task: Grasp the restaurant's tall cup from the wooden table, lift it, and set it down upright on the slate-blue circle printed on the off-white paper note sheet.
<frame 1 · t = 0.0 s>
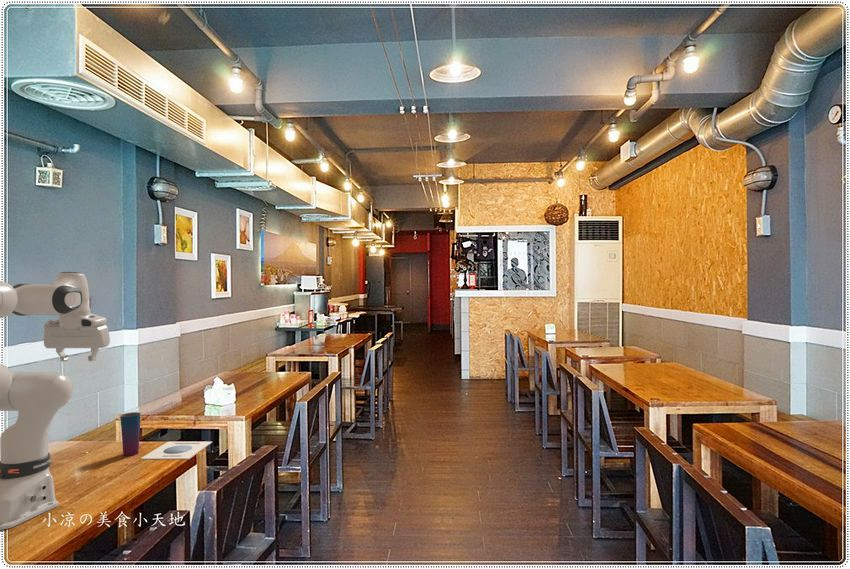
hand: (78, 360, 173), 39 cm above the table, tool pointing down, fingers open, 8 cm apart
paper sheet: (178, 450, 200), on the table
cup: (130, 454, 196), on the table
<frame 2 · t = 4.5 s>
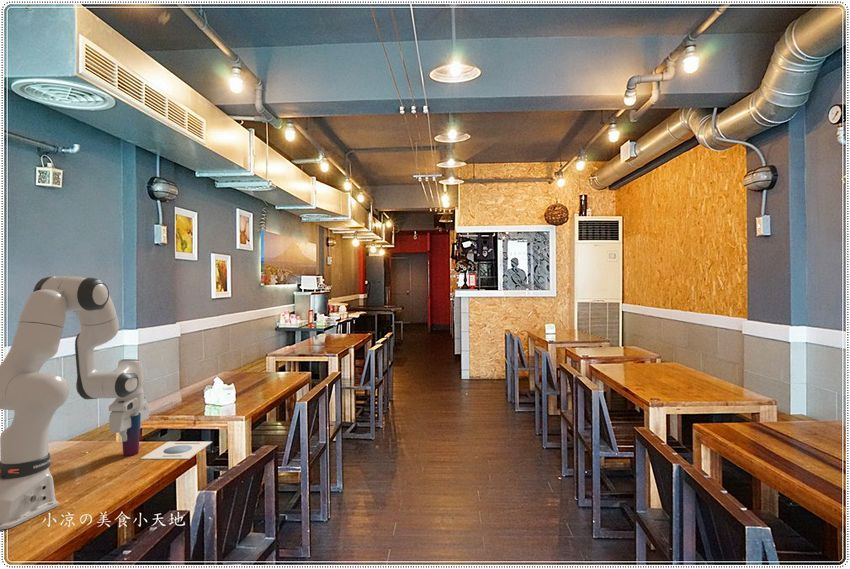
hand: (130, 437, 196), 6 cm above the table, tool pointing down, fingers closed on cup, 6 cm apart
cup: (130, 454, 196), on the table, touching gripper
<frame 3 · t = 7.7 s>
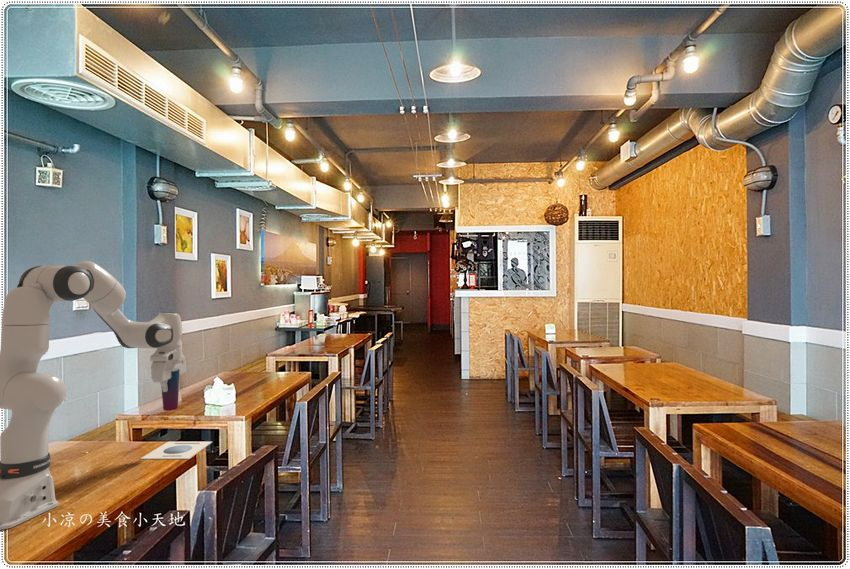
hand: (170, 389, 199), 24 cm above the table, tool pointing down, fingers closed on cup, 6 cm apart
cup: (170, 409, 199), point 16 cm above the table, touching gripper
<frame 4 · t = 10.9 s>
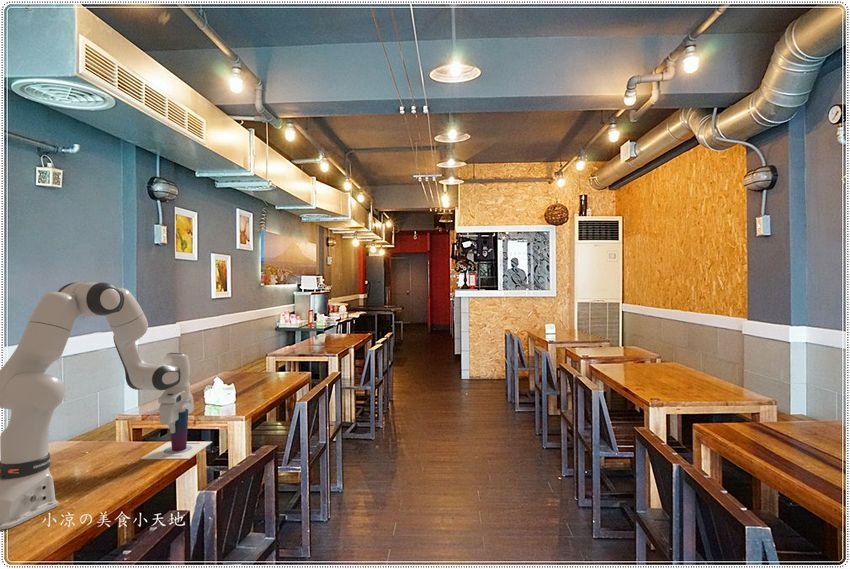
hand: (178, 429, 200), 8 cm above the table, tool pointing down, fingers closed on cup, 6 cm apart
cup: (179, 449, 200), resting on paper sheet, touching gripper
when the fingers open (8 cm above the table, at t = 11.9 s): cup stays where it is, resting on paper sheet.
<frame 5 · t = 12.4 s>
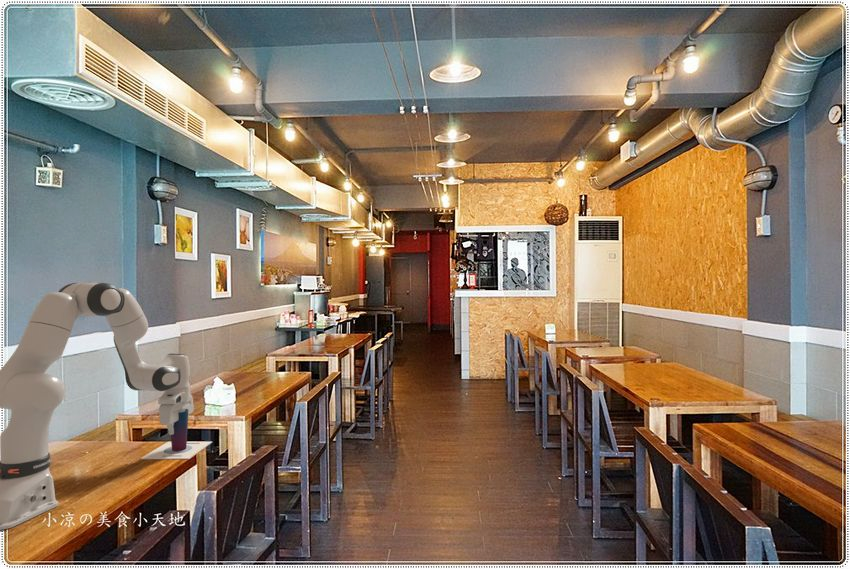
hand: (177, 430, 200), 8 cm above the table, tool pointing down, fingers open, 8 cm apart
cup: (179, 449, 200), resting on paper sheet
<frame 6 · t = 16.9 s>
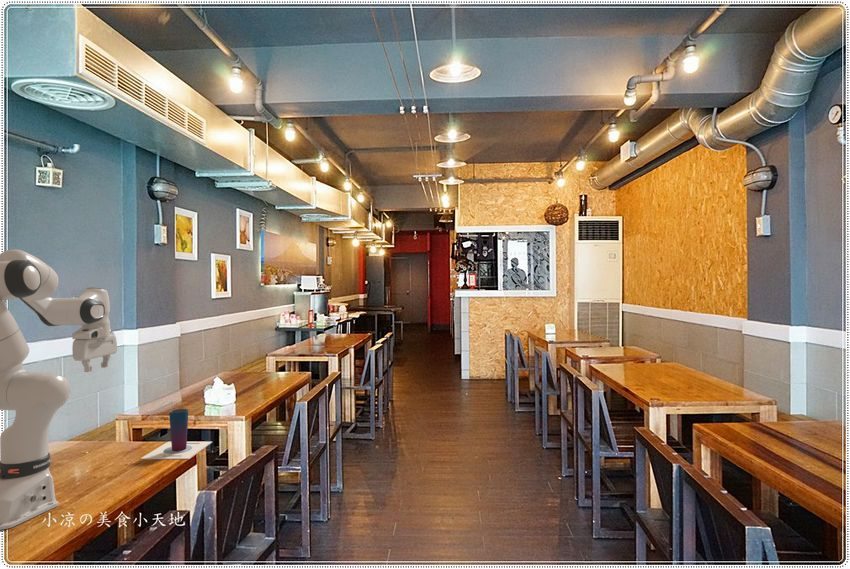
hand: (96, 369, 190), 33 cm above the table, tool pointing down, fingers open, 8 cm apart
nothing on the table moved.
at the end: cup inside the target area on the paper sheet (0.5 cm from its centre), point 0.2 cm above the paper sheet's base; cup tilted 0°; the gripper is holding nothing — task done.
